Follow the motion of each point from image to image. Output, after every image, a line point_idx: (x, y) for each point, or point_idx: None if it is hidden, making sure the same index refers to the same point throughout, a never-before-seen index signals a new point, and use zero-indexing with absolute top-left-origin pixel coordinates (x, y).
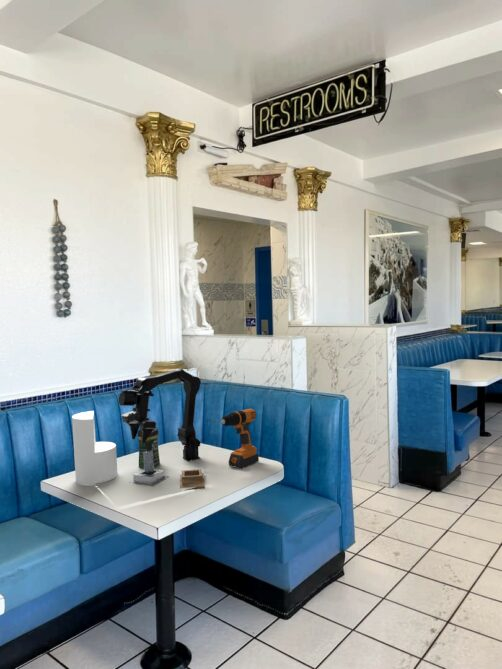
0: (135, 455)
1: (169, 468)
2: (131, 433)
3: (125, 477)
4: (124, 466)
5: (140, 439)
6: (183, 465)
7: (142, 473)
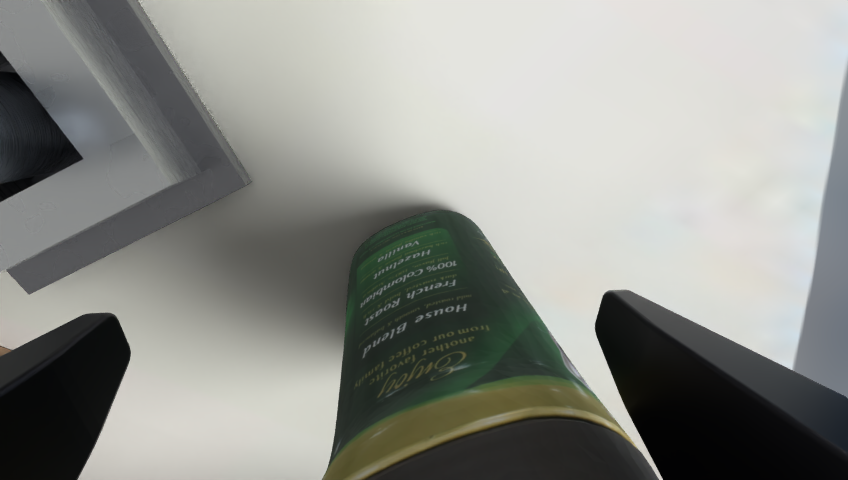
0: (764, 333)
1: (297, 385)
2: (750, 363)
3: (334, 7)
4: (617, 151)
5: (454, 400)
6: (291, 474)
7: (15, 61)
